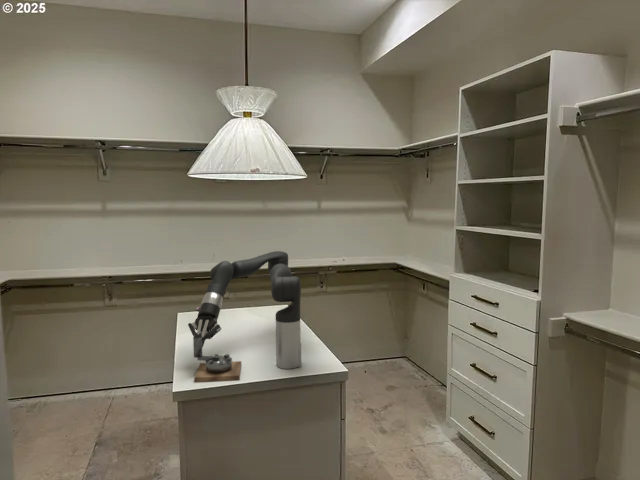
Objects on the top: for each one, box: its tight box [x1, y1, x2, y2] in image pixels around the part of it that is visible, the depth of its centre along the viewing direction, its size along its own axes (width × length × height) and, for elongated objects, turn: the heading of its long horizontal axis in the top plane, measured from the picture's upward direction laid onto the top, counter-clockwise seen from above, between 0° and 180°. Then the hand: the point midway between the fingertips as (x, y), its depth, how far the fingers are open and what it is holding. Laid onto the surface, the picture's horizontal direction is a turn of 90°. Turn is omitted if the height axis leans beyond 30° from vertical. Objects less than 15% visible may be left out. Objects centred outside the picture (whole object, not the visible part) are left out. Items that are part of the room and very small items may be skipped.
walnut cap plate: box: [194, 360, 242, 383], centre depth 160 cm, size 15×14×2 cm
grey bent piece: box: [192, 332, 233, 373], centre depth 159 cm, size 14×9×13 cm, turn 86°
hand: (197, 348), depth 162 cm, fingers closed
